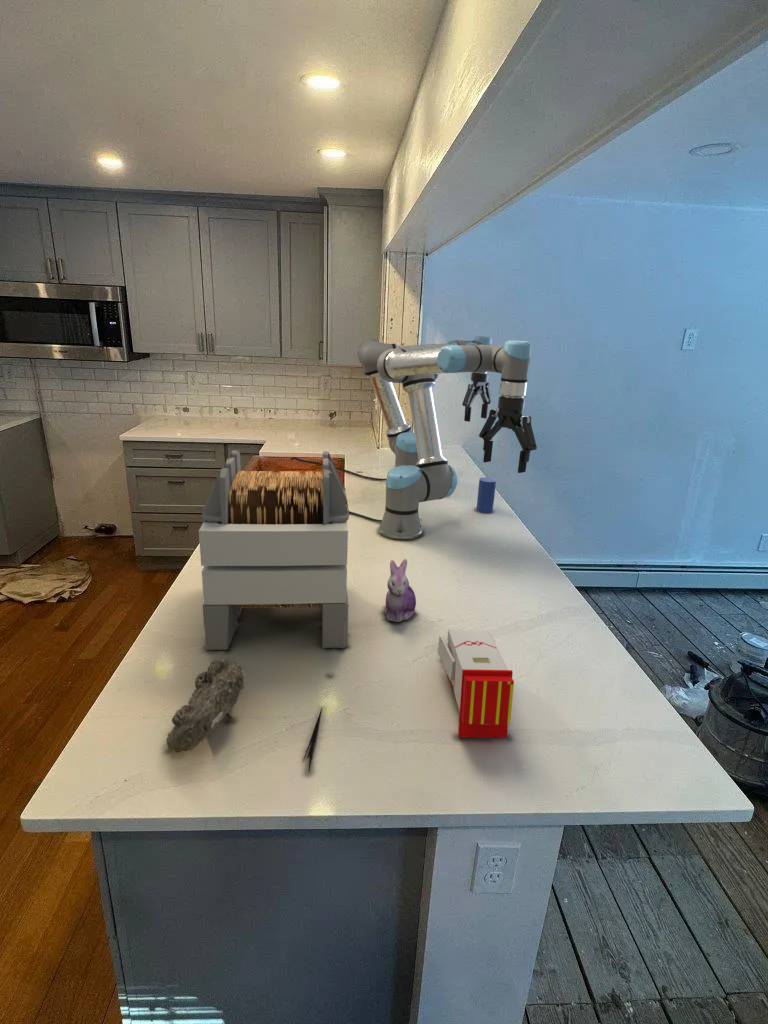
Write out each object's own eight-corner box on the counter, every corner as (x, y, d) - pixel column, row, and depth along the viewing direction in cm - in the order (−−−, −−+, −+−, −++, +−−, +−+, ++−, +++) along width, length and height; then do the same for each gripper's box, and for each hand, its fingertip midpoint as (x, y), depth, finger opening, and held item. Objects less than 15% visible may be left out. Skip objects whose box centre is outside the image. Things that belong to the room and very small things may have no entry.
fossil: (192, 660, 117) (244, 628, 112) (224, 691, 120) (276, 661, 115) (142, 746, 98) (202, 712, 93) (182, 779, 101) (242, 748, 96)
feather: (331, 679, 122) (336, 673, 122) (307, 777, 96) (313, 769, 95) (324, 675, 122) (329, 669, 121) (298, 772, 95) (304, 764, 95)
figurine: (392, 627, 141) (395, 572, 136) (374, 608, 149) (376, 556, 144) (425, 619, 145) (429, 566, 140) (405, 601, 154) (408, 550, 149)
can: (483, 506, 232) (486, 476, 227) (496, 511, 227) (499, 480, 223) (472, 509, 228) (476, 478, 223) (485, 514, 223) (488, 483, 219)
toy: (488, 613, 130) (523, 677, 101) (484, 667, 133) (517, 744, 104) (435, 612, 130) (455, 676, 101) (432, 666, 133) (451, 743, 103)
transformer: (226, 583, 159) (217, 441, 145) (342, 582, 163) (345, 443, 149) (203, 652, 127) (189, 478, 114) (348, 648, 131) (352, 480, 117)
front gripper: (555, 401, 158) (545, 475, 165) (488, 389, 176) (481, 456, 183) (539, 403, 153) (528, 478, 161) (471, 391, 172) (465, 459, 179)
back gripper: (471, 374, 243) (466, 424, 250) (502, 371, 260) (497, 417, 267) (457, 373, 247) (452, 421, 254) (488, 370, 265) (483, 415, 272)
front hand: (503, 466), depth 172 cm, fingers open, 13 cm apart
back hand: (475, 419), depth 261 cm, fingers open, 13 cm apart
